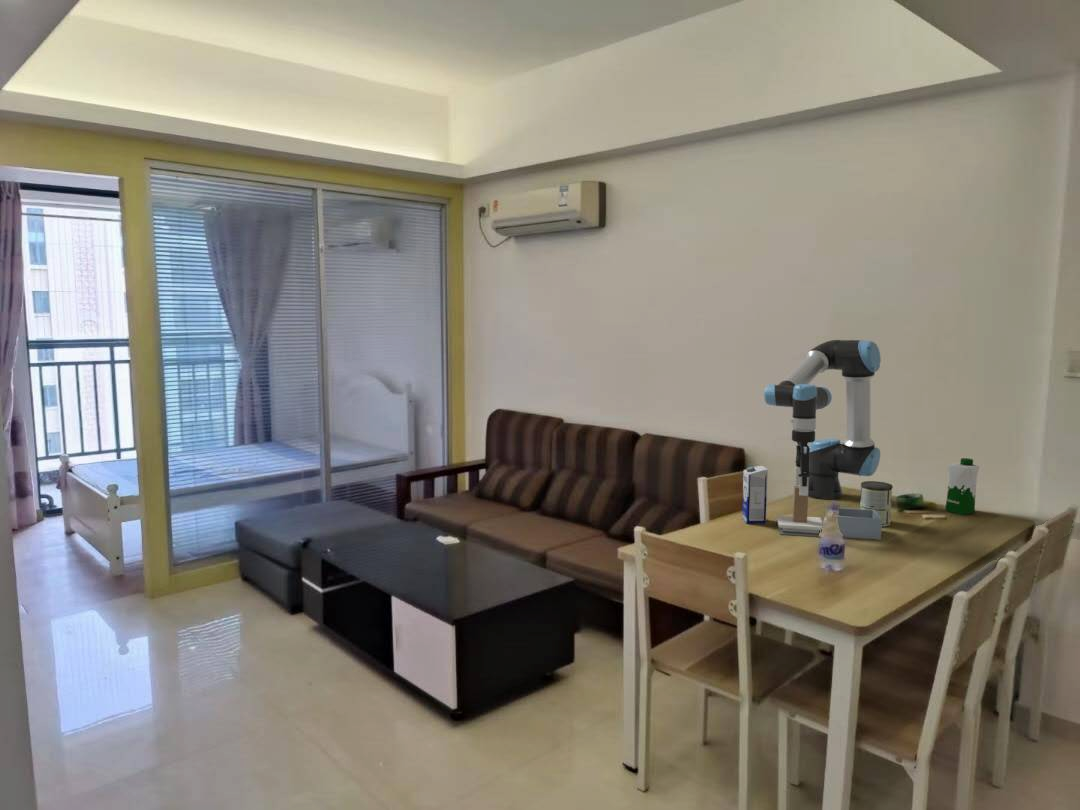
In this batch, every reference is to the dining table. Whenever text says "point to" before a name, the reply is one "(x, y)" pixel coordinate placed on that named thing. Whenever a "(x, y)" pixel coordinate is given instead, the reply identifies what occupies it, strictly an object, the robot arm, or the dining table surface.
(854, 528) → the box
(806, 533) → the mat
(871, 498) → the coffee can
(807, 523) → the lid
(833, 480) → the robot arm
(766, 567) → the dining table surface
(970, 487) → the soya milk
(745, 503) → the milk carton
